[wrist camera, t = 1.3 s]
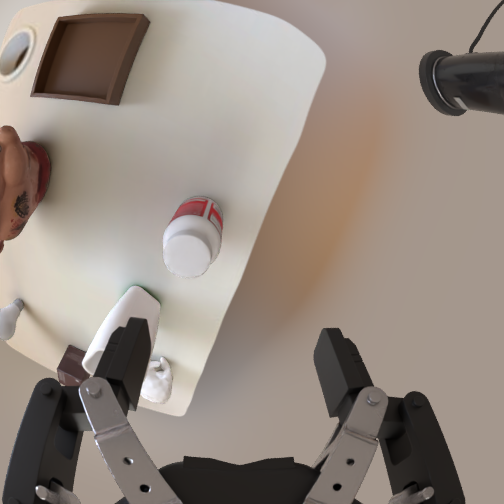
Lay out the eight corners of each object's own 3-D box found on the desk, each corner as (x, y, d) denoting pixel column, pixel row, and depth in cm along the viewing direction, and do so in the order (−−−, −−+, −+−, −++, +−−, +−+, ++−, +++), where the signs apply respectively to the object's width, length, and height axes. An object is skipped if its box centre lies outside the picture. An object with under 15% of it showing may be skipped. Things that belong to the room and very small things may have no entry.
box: (69, 343, 45) (56, 368, 38) (93, 355, 46) (82, 381, 40) (70, 359, 47) (58, 382, 40) (92, 369, 48) (82, 394, 42)
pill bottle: (169, 225, 35) (145, 266, 25) (191, 186, 33) (172, 214, 23) (208, 247, 37) (199, 295, 27) (232, 211, 35) (231, 248, 25)
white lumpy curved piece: (165, 412, 41) (106, 389, 40) (175, 379, 49) (121, 358, 48) (170, 397, 39) (104, 370, 37) (180, 361, 46) (122, 339, 45)
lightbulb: (32, 299, 39) (4, 334, 30) (31, 317, 41) (7, 351, 32) (11, 284, 38) (-17, 315, 28) (11, 303, 40) (-14, 334, 30)
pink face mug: (52, 249, 35) (3, 297, 23) (6, 226, 32) (-43, 263, 20) (70, 126, 27) (2, 139, 15) (18, 114, 25) (-45, 125, 12)
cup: (112, 299, 40) (78, 366, 27) (135, 274, 38) (98, 343, 25) (146, 325, 43) (123, 395, 29) (171, 303, 41) (150, 378, 27)
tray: (150, 21, 22) (143, 14, 19) (118, 105, 27) (108, 104, 24) (68, 21, 19) (57, 17, 17) (42, 96, 24) (29, 96, 22)
